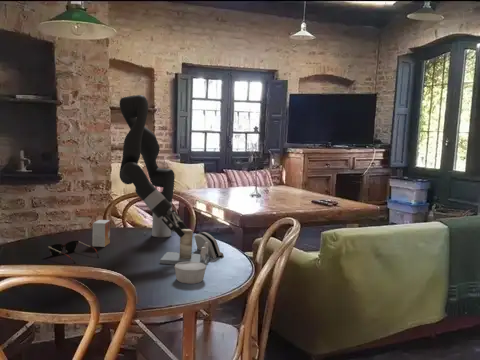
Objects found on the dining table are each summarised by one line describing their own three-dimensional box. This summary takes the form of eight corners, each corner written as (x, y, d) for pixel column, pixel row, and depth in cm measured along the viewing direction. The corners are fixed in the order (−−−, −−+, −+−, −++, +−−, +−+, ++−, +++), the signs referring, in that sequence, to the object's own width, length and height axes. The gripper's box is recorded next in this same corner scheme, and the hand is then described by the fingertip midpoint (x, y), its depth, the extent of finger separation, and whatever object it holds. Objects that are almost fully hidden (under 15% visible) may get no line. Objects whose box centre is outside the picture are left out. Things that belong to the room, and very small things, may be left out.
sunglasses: (77, 250, 195) (78, 239, 195) (102, 260, 186) (102, 248, 186) (47, 257, 184) (48, 244, 183) (72, 267, 175) (73, 255, 174)
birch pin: (180, 255, 190) (181, 228, 188) (192, 256, 189) (193, 229, 188) (178, 258, 185) (179, 231, 184) (190, 259, 185) (191, 232, 183)
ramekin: (190, 273, 172) (190, 259, 171) (212, 280, 165) (212, 265, 164) (167, 279, 163) (167, 264, 163) (189, 287, 156) (190, 272, 156)
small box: (104, 247, 202) (105, 223, 201) (91, 246, 202) (92, 222, 201) (110, 243, 210) (110, 220, 209) (97, 242, 210) (98, 219, 209)
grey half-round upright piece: (224, 257, 196) (218, 235, 193) (214, 261, 194) (208, 240, 191) (207, 247, 210) (201, 227, 207) (198, 252, 208) (192, 231, 205)
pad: (167, 255, 194) (167, 239, 193) (209, 258, 193) (210, 241, 192) (160, 263, 182) (160, 245, 181) (205, 266, 181) (206, 249, 180)
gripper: (160, 200, 178) (188, 231, 179) (168, 195, 192) (194, 223, 193) (146, 212, 179) (174, 243, 180) (155, 206, 193) (181, 235, 194)
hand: (185, 233), depth 186 cm, fingers open, 8 cm apart
